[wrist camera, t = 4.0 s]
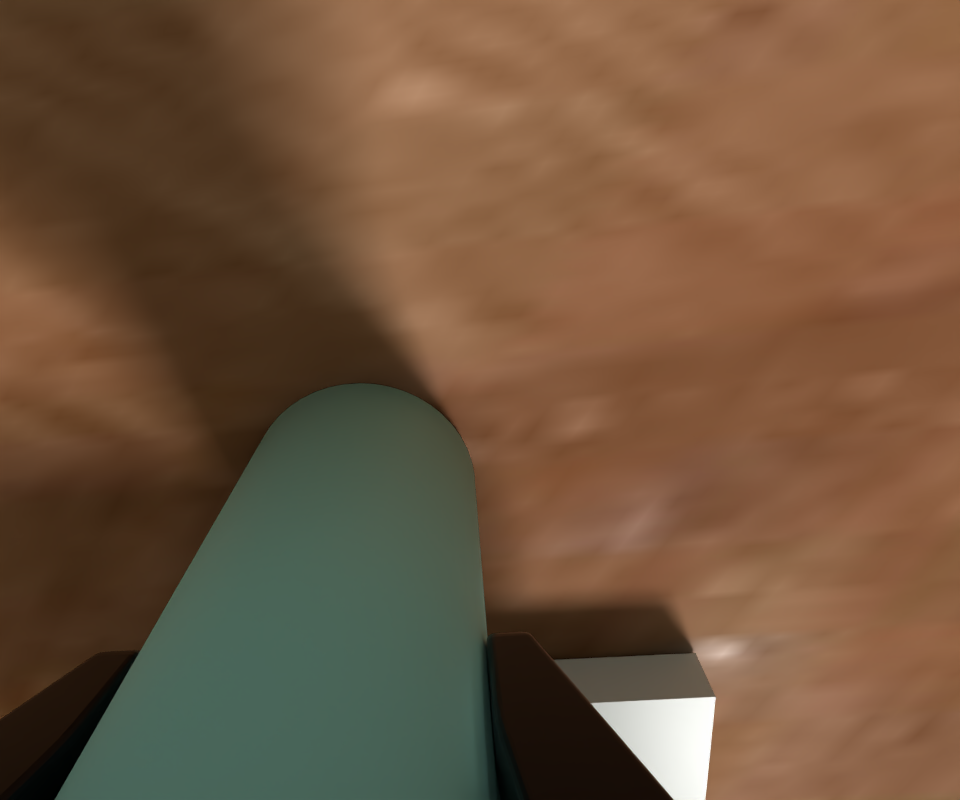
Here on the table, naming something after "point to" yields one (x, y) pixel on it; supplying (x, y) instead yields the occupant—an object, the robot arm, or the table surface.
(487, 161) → the table surface
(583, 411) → the table surface
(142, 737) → the dowel
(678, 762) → the socket
